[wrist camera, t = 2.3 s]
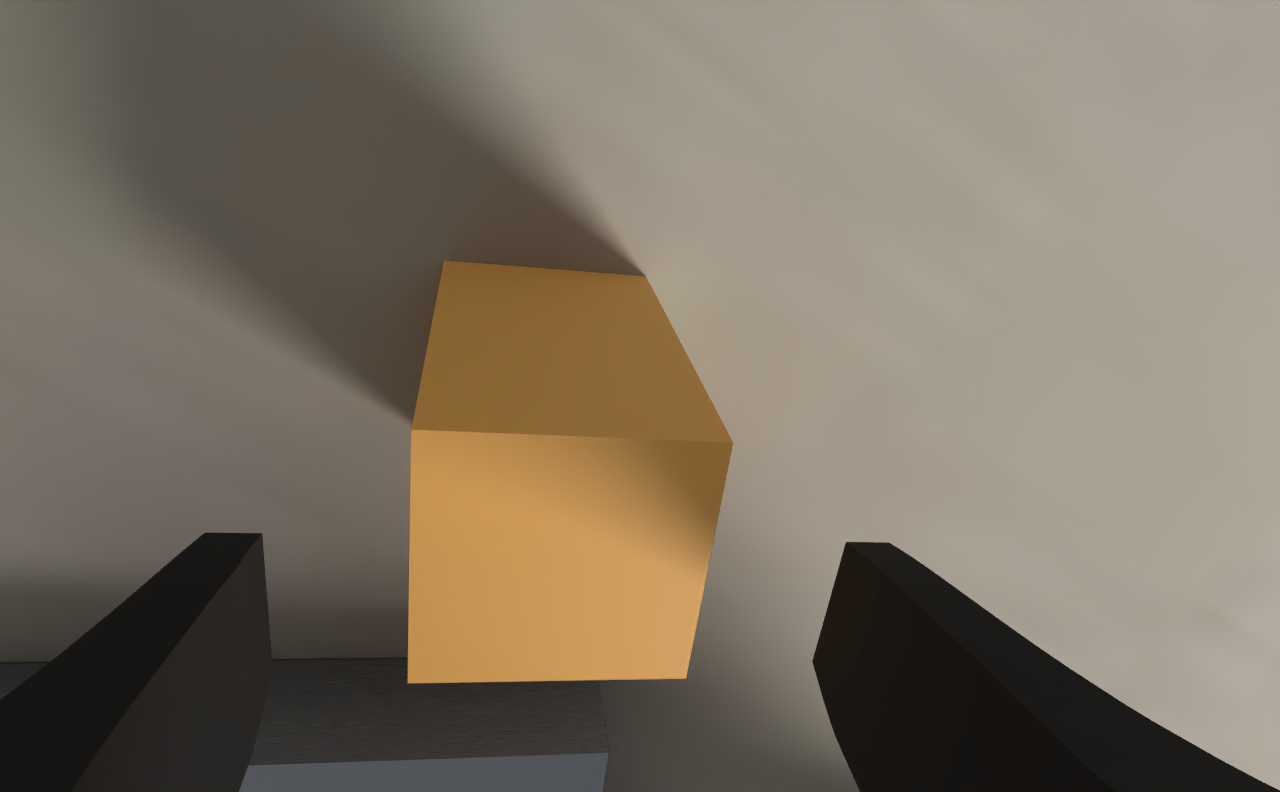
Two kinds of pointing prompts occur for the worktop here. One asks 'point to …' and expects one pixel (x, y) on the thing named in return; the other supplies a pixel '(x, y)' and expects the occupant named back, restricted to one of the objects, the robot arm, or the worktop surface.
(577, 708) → the grey square-hole board
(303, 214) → the worktop surface
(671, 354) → the block
